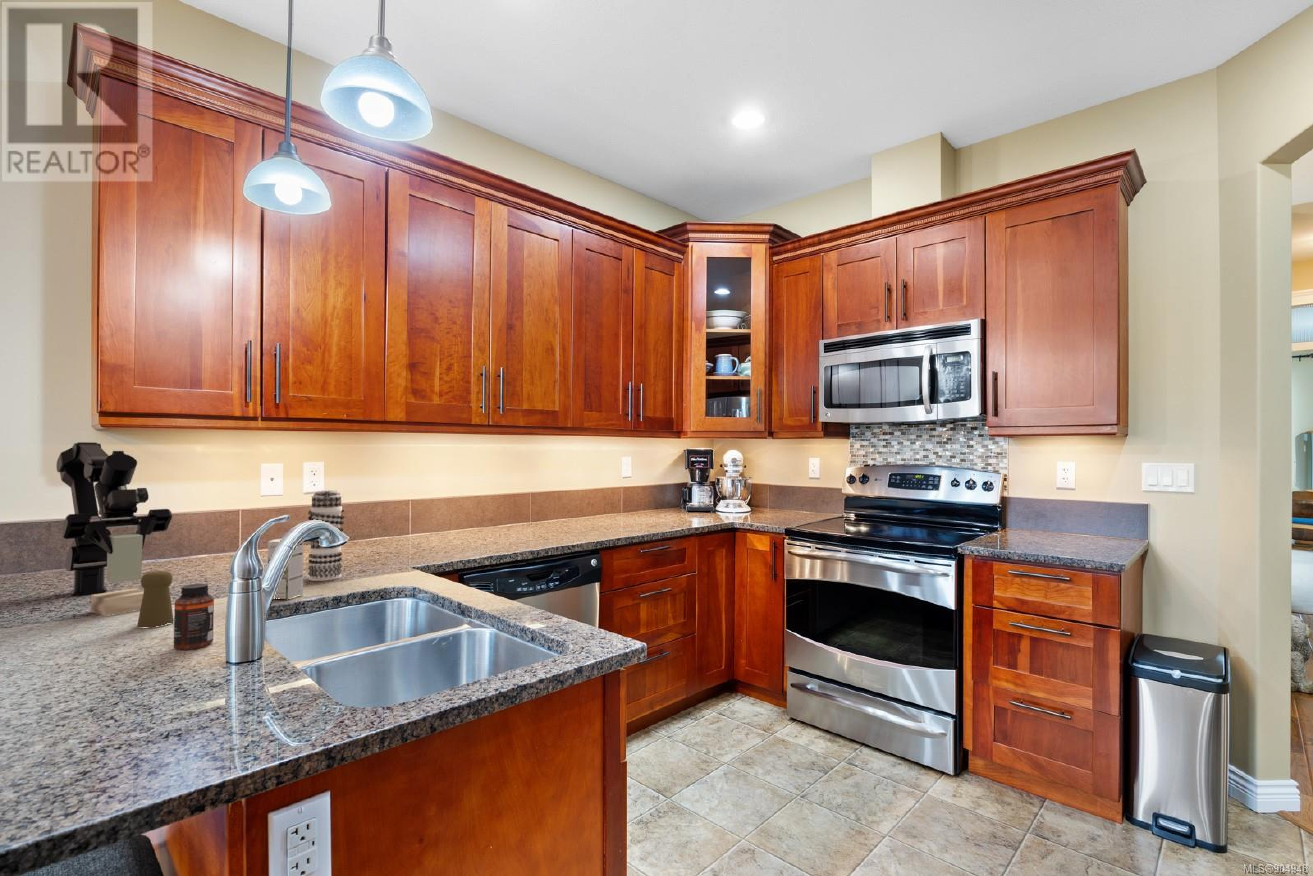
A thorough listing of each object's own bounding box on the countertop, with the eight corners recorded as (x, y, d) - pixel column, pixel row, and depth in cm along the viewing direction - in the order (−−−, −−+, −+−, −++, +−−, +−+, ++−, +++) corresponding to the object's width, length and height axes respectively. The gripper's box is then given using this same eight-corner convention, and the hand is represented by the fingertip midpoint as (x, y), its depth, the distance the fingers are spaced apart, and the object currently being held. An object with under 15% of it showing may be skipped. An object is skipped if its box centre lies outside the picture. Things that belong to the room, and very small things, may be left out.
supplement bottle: (220, 643, 116) (222, 583, 117) (187, 653, 111) (189, 590, 111) (198, 639, 118) (200, 581, 119) (165, 649, 113) (167, 587, 113)
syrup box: (303, 595, 155) (305, 537, 156) (287, 600, 150) (288, 541, 150) (282, 594, 156) (284, 537, 156) (265, 600, 150) (267, 540, 150)
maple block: (90, 612, 138) (91, 595, 138) (134, 605, 145) (134, 588, 145) (106, 617, 134) (106, 599, 134) (150, 609, 141) (150, 592, 141)
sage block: (106, 579, 140) (107, 535, 140) (134, 576, 144) (135, 533, 144) (112, 582, 137) (114, 537, 137) (141, 579, 141) (142, 535, 141)
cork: (180, 622, 130) (181, 570, 130) (146, 630, 125) (148, 575, 125) (164, 619, 133) (165, 568, 133) (130, 626, 127) (132, 572, 127)
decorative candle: (308, 576, 179) (310, 490, 180) (343, 573, 183) (345, 489, 183) (305, 582, 171) (307, 492, 171) (342, 579, 175) (344, 491, 175)
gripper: (67, 477, 135) (78, 532, 129) (170, 475, 151) (185, 524, 144) (57, 511, 140) (67, 565, 133) (159, 505, 155) (173, 554, 148)
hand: (126, 551), depth 140 cm, fingers closed on sage block, 5 cm apart
